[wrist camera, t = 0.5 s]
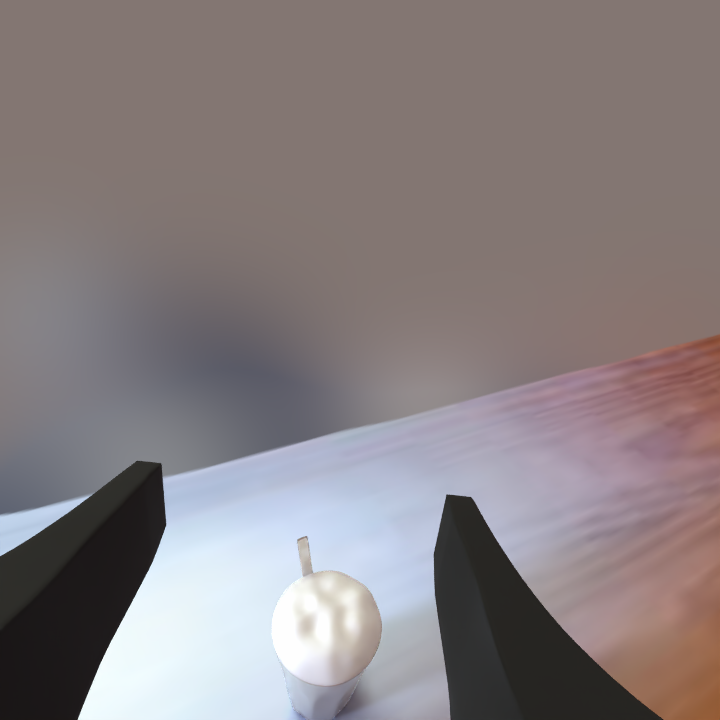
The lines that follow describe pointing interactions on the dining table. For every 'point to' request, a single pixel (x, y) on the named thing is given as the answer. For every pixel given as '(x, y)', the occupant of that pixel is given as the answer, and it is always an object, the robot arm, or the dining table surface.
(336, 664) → the milkshake
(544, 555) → the dining table surface
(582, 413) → the dining table surface
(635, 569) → the dining table surface
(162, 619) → the dining table surface
